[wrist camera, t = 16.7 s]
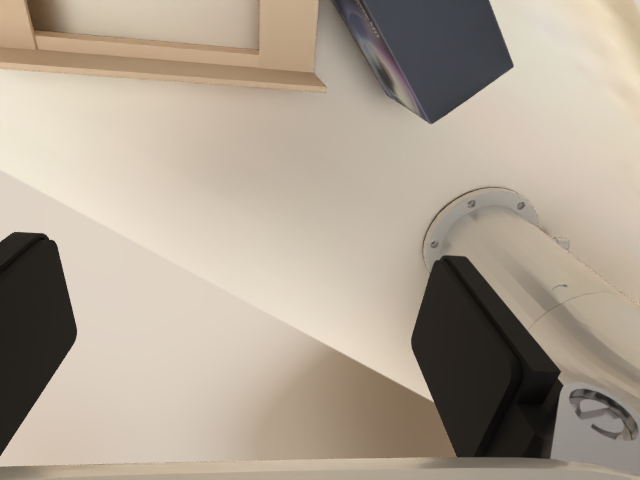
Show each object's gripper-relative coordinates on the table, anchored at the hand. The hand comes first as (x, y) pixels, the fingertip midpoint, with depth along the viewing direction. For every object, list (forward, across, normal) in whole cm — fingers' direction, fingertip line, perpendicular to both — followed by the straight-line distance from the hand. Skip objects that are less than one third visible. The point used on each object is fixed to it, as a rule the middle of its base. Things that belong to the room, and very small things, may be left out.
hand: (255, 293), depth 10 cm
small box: (+27, -9, -8) cm, 29 cm away
